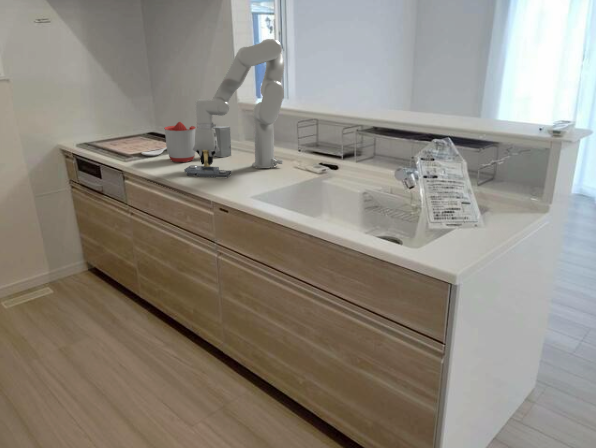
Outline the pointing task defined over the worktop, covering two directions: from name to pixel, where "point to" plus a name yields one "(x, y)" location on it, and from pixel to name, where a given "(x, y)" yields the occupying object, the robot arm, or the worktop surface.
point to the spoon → (154, 152)
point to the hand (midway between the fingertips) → (206, 163)
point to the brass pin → (206, 157)
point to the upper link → (200, 170)
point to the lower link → (216, 174)
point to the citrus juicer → (180, 142)
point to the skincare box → (223, 141)
